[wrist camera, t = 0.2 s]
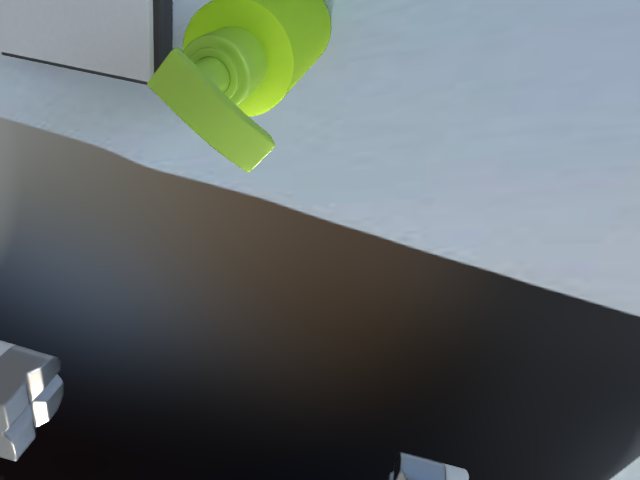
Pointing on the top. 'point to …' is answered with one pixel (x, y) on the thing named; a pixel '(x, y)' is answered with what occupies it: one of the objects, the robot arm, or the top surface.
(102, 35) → the kitchen scale
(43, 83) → the top surface
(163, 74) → the soap dispenser
